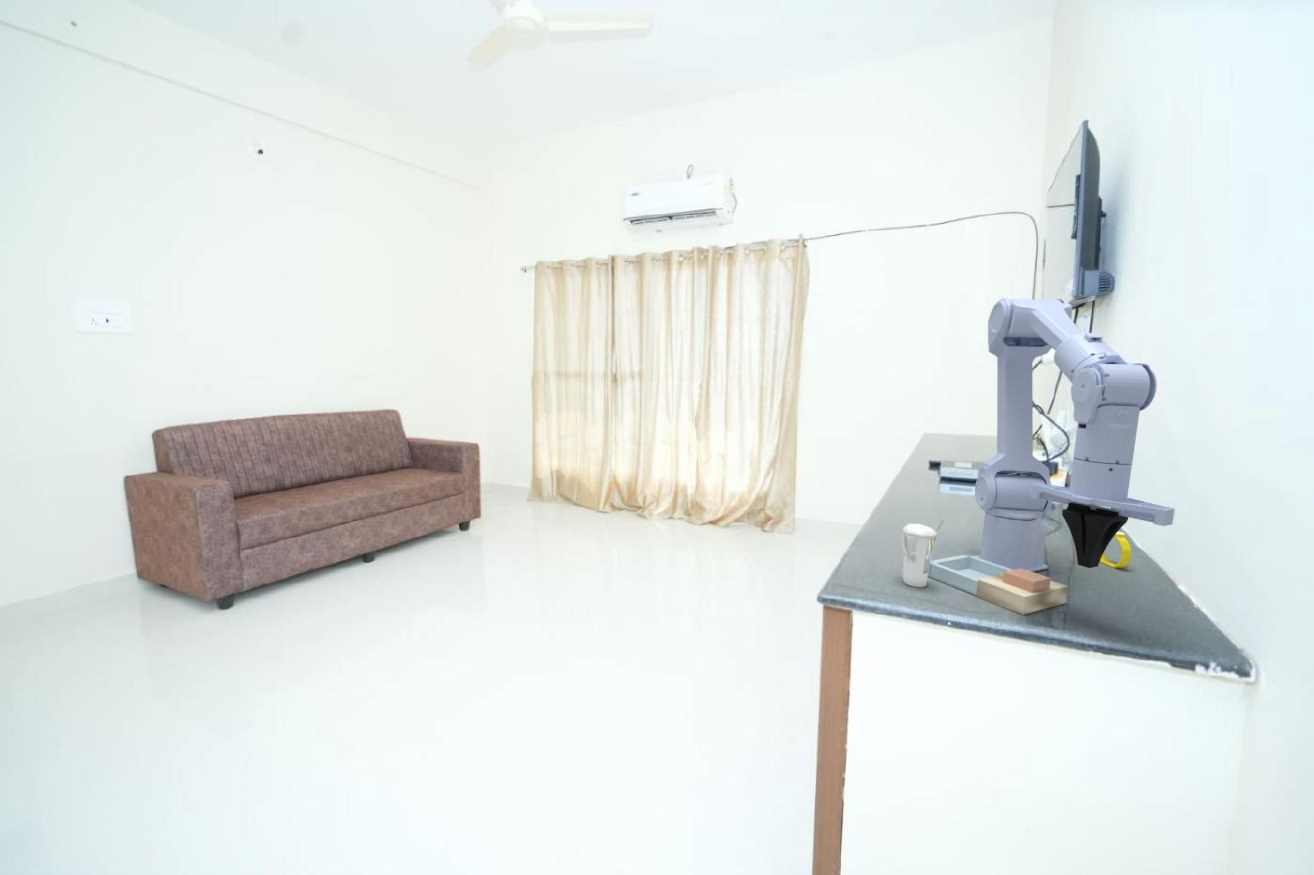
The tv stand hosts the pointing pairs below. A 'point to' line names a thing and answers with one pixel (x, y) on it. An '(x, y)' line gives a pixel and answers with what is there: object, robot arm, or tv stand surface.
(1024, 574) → the tile
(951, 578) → the box
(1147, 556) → the tv stand surface
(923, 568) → the milkshake
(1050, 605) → the beige wooden block
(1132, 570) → the tv stand surface
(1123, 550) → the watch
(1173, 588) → the tv stand surface
